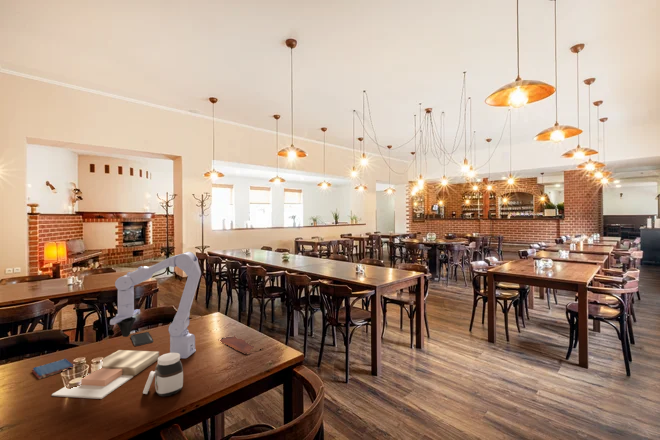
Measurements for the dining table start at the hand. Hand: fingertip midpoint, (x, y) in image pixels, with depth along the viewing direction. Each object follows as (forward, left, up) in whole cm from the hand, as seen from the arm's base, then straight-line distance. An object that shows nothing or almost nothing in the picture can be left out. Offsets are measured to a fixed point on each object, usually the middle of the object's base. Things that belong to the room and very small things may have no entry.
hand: (126, 336), depth 130 cm
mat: (-5, +21, -9) cm, 24 cm away
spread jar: (-31, +22, -10) cm, 39 cm away
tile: (-5, +18, -9) cm, 20 cm away
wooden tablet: (-42, -19, -10) cm, 47 cm away
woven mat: (+21, +12, -10) cm, 26 cm away
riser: (-5, +6, -9) cm, 12 cm away
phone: (+8, -20, -10) cm, 24 cm away
